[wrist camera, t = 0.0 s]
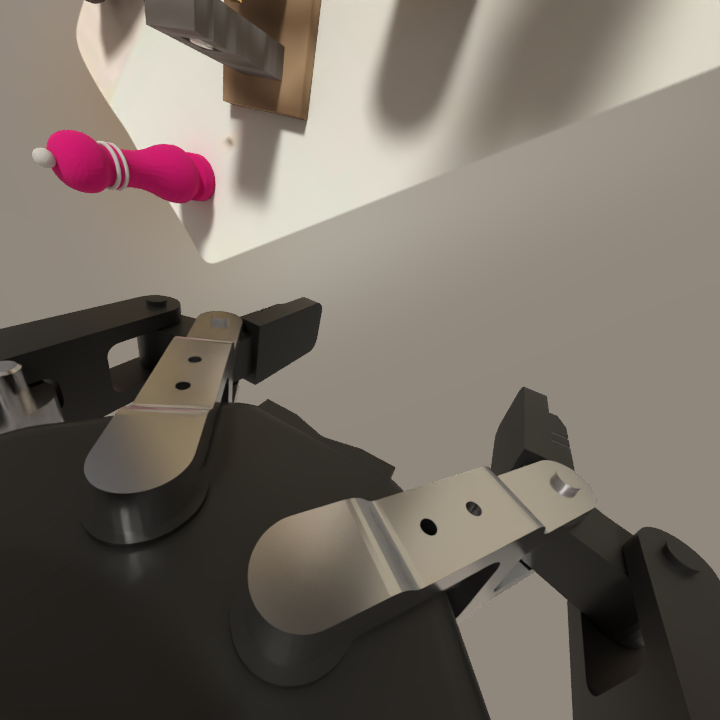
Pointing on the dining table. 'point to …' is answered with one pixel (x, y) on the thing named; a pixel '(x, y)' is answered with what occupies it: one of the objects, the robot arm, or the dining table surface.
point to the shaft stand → (250, 46)
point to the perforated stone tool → (95, 1)
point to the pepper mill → (126, 167)
